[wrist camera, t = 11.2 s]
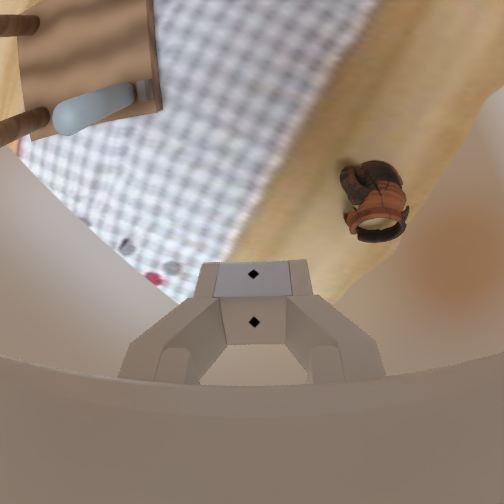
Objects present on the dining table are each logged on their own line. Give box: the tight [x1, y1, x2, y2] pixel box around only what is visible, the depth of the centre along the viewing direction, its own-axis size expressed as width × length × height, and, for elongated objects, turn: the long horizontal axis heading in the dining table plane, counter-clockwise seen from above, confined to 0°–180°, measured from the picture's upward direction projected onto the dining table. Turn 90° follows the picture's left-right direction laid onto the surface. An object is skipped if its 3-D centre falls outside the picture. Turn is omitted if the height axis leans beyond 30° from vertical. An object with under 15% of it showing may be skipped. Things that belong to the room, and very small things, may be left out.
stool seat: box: [0, 0, 163, 148], centre depth 23 cm, size 20×20×16 cm
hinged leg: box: [52, 82, 135, 136], centre depth 25 cm, size 3×3×12 cm
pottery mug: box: [340, 161, 409, 243], centre depth 38 cm, size 12×10×8 cm
